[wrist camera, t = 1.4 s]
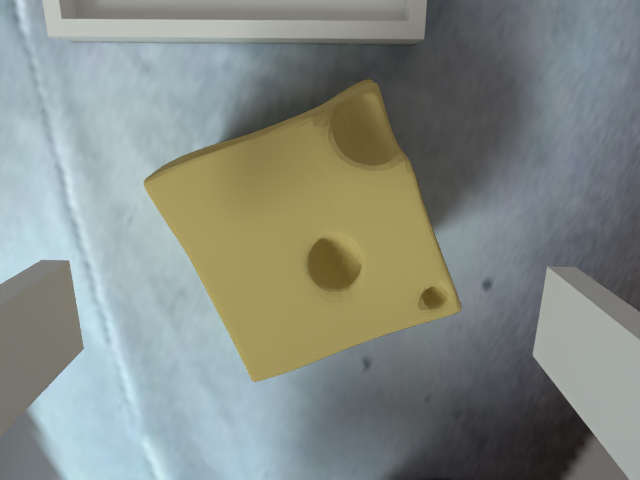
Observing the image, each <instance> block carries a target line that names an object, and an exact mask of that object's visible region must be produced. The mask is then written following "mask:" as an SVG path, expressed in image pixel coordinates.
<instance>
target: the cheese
mask: <svg viewBox="0 0 640 480" xmlns="http://www.w3.org/2000/svg"><path fill="white" fill-rule="evenodd" d="M144 187H145V189H146V191H147V193H148V194H149V196H150V198H151V199H152V201H153V202H154V204H155V206H156V207H157V209H158V211H159V212H160V214H161V215H162V217H163V218H164V220H165V221H166V223H167V224H168V226H169V227H170V229H171V230H172V232H173V233H174V235H175V236H176V238H177V239H178V241H179V242H180V244H181V246H182V247H183V249H184V250H185V252H186V253H187V255H188V257H189V258H190V260H191V262H192V264H193V266H194V267H195V269H196V271H197V273H198V275H199V277H200V279H201V281H202V283H203V285H204V286H205V288H206V290H207V292H208V294H209V296H210V298H211V300H212V302H213V304H214V306H215V308H216V310H217V312H218V313H219V315H220V317H221V319H222V321H223V323H224V325H225V327H226V329H227V331H228V333H229V335H230V337H231V339H232V341H233V343H234V345H235V347H236V349H237V351H238V353H239V355H240V357H241V359H242V361H243V363H244V365H245V367H246V369H247V371H248V373H249V375H250V377H251V379H252V381H254V382H257V381H261V380H265V379H268V378H271V377H274V376H277V375H280V374H283V373H286V372H289V371H292V370H295V369H298V368H300V367H303V366H305V365H308V364H310V363H313V362H315V361H318V360H320V359H322V358H325V357H327V356H330V355H332V354H335V353H337V352H340V351H342V350H345V349H348V348H350V347H353V346H355V345H358V344H361V343H363V342H366V341H369V340H371V339H374V338H377V337H380V336H383V335H386V334H389V333H392V332H395V331H398V330H402V329H405V328H409V327H412V326H415V325H419V324H422V323H426V322H429V321H433V320H436V319H439V318H443V317H446V316H449V315H452V314H455V313H457V312H459V311H461V303H460V301H459V298H458V295H457V292H456V290H455V287H454V284H453V282H452V279H451V276H450V274H449V271H448V269H447V266H446V263H445V261H444V258H443V255H442V253H441V250H440V247H439V245H438V242H437V240H436V237H435V234H434V231H433V228H432V226H431V223H430V220H429V217H428V214H427V211H426V208H425V206H424V202H423V199H422V196H421V192H420V189H419V186H418V182H417V179H416V176H415V173H414V170H413V168H412V165H411V163H410V160H409V159H408V157H407V156H406V155H405V153H404V152H403V151H402V150H401V149H400V147H399V145H398V144H397V141H396V139H395V137H394V134H393V131H392V129H391V126H390V123H389V119H388V116H387V113H386V109H385V105H384V102H383V98H382V95H381V91H380V88H379V86H378V84H377V83H373V81H372V79H365V80H363V81H360V82H358V83H356V84H354V85H352V86H350V87H349V88H347V89H346V90H344V91H343V92H341V93H339V94H338V95H336V96H335V97H333V98H332V99H330V100H328V101H327V102H325V103H324V104H322V105H320V106H318V107H316V108H314V109H311V110H309V111H307V112H304V113H302V114H300V115H297V116H295V117H292V118H290V119H287V120H285V121H282V122H280V123H277V124H274V125H272V126H269V127H267V128H264V129H261V130H259V131H256V132H253V133H250V134H247V135H245V136H241V137H238V138H235V139H231V140H228V141H224V142H221V143H217V144H214V145H211V146H208V147H205V148H203V149H200V150H197V151H194V152H192V153H189V154H187V155H184V156H182V157H179V158H177V159H175V160H173V161H171V162H169V163H167V164H166V165H164V166H162V167H161V168H160V169H158V170H157V171H155V172H154V173H153V174H151V175H150V176H149V177H147V178H146V179H145V181H144Z"/></svg>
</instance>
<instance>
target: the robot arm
mask: <svg viewBox="0 0 640 480" xmlns="http://www.w3.org/2000/svg"><path fill="white" fill-rule="evenodd" d="M83 349H84V347H83V341H82V335H81V329H80V323H79V317H78V311H77V305H76V299H75V293H74V287H73V281H72V275H71V269H70V263H69V261H65V260H41V261H39V262H38V263H36V264H34V265H33V266H31V267H29V268H27V269H26V270H24V271H22V272H21V273H19V274H17V275H16V276H14V277H12V278H10V279H9V280H7V281H5V282H4V283H2V284H0V436H1V435H2V434H3V433H4V432H5V431H6V430H7V429H8V428H9V427H10V426H11V425H12V424H13V423H14V422H15V421H16V419H17V418H18V417H19V416H20V415H21V414H22V413H23V412H24V411H25V410H26V409H27V408H28V407H29V406H30V405H31V404H32V403H33V402H34V400H35V399H36V398H37V397H38V396H39V395H40V394H41V393H42V392H43V391H44V390H45V389H46V388H47V387H48V386H49V385H50V384H51V383H52V382H53V380H54V379H55V378H56V377H57V376H58V375H59V374H60V373H61V372H62V371H63V370H64V369H65V368H66V367H67V366H68V365H69V364H70V363H71V362H72V360H73V359H74V358H75V357H76V356H77V355H78V354H79V353H80V352H81V351H82V350H83ZM533 357H534V358H535V359H536V360H537V362H538V363H539V364H540V366H541V367H542V368H543V369H544V371H545V372H546V373H547V375H548V376H549V377H550V378H551V380H552V381H553V382H554V384H555V385H556V386H557V387H558V389H559V390H560V391H561V393H562V394H563V395H564V396H565V398H566V399H567V400H568V402H569V403H570V404H571V405H572V407H573V408H574V409H575V411H576V412H577V413H578V414H579V416H580V417H581V418H582V420H583V421H584V422H585V423H586V425H587V426H588V427H589V429H590V430H591V431H592V432H593V434H594V435H595V436H596V438H597V439H598V440H599V441H600V443H601V444H602V445H603V447H604V448H605V449H606V450H607V452H608V453H609V454H610V455H611V457H612V458H613V459H614V461H615V462H616V463H617V465H618V466H619V467H620V468H621V470H622V471H623V472H624V474H625V475H626V476H627V477H628V479H629V480H640V312H639V311H637V310H636V309H635V308H633V307H632V306H630V305H629V304H627V303H626V302H625V301H623V300H622V299H620V298H619V297H618V296H616V295H615V294H613V293H612V292H610V291H609V290H608V289H606V288H605V287H603V286H602V285H601V284H599V283H598V282H596V281H595V280H593V279H592V278H591V277H589V276H588V275H586V274H585V273H584V272H582V271H581V270H579V269H578V268H576V267H547V272H546V278H545V284H544V290H543V296H542V302H541V308H540V314H539V320H538V326H537V332H536V338H535V344H534V350H533Z"/></svg>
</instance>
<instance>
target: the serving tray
mask: <svg viewBox="0 0 640 480" xmlns="http://www.w3.org/2000/svg"><path fill="white" fill-rule="evenodd" d="M43 7H44V13H45V20H46V27H47V33H48V37H53V38H57V39H62V40H67V41H71V42H121V43H261V44H400V45H415V44H417V43H419V42H420V41H422V40H424V37H425V23H426V8H427V0H43Z"/></svg>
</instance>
